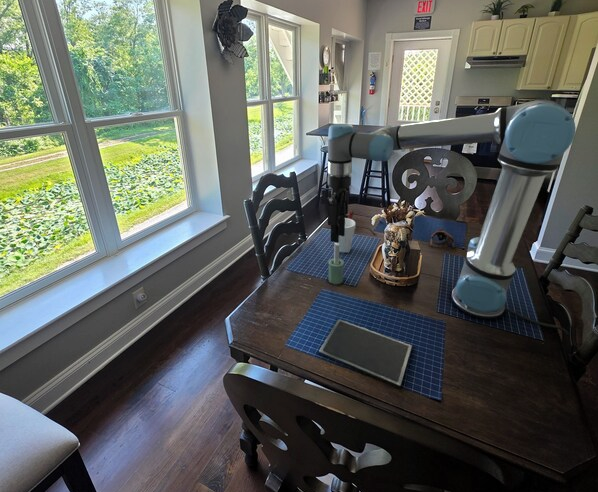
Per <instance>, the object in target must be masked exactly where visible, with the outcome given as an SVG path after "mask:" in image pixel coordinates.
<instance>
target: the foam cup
mask: <svg viewBox="0 0 598 492" xmlns="http://www.w3.org/2000/svg"><path fill="white" fill-rule="evenodd" d="M355 230H356V221H355V220H353V218H352V219H350V218H349V217H348V218H345V236H340V235H339V242H338V243H339V244H340V245H339V253H344V254H345V253H350V252H351V248H352V244H353V238H354V233H355ZM335 243H336V242H334V244H335Z"/></svg>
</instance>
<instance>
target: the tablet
mask: <svg viewBox="0 0 598 492" xmlns="http://www.w3.org/2000/svg"><path fill="white" fill-rule="evenodd" d="M412 349H413V345H412V344H409V343H407V342H403V341H400V340H398V339H395V338H392V337H390V336H387V335H385V334H381V333H378V332H376V331H373V330H370V329H368V328H365V327H362V326H359V325H356V324H354V323H351V322H348V321H345V320H342V319H339V318H338V319H337V321H336V322H335V324H334V326H333V327H332V329H331V331H330V333H329V334H328V335H327V337H326V339H325V340H324V342H323V344H322V345H321V347H320V349H319V350H318V354H319V355H320V356H323V357H325V358H327V359H330V360H332V361H335V362H336V363H337V362H338V363H339V364H342V365H345V366H346V367H349V368H351V369H353V370H356V371H358V372H361V373H362V374H365V375H368V376H370V377H372V378H375V379H377V380H379V381H381V382H383V383H387V384H388V385H391V386H394V387H396V388H397V389H401V386H402V383H403V379H404V377H405V373H406V369H407V366H408V362H409V359H410V355H411V352H412Z"/></svg>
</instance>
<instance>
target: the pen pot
mask: <svg viewBox="0 0 598 492" xmlns="http://www.w3.org/2000/svg"><path fill="white" fill-rule="evenodd" d="M344 270H345V261H344V260H343V259H342V258H339V265H334V257H332V258H330V259H329V260H328V273H327V279H328V282H329V283H331V284H333V285H340V284H342V283H343V282H344V274H345V271H344Z"/></svg>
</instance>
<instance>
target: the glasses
mask: <svg viewBox="0 0 598 492" xmlns="http://www.w3.org/2000/svg"><path fill="white" fill-rule="evenodd" d="M354 215H355V216H360V217H366V218H371V219H373V218H372V217H373V216H369V215H364V214H359V213H354V211H350V212H349V213H348V214H347V216H348V219H352V220H353V217H354ZM378 220H379V221H378V222H379V223H380V224H383V222H382V221H381V220H380V219H378ZM356 227H357V228H360V229H361V228H362V229H366V230H369V231H370V232H371V233H372V234H373V235H374V236H375V235H376V233H375V232H374V231H373V230H371V229H370V228H369V227H365V226H361V225H355V228H356Z"/></svg>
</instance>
